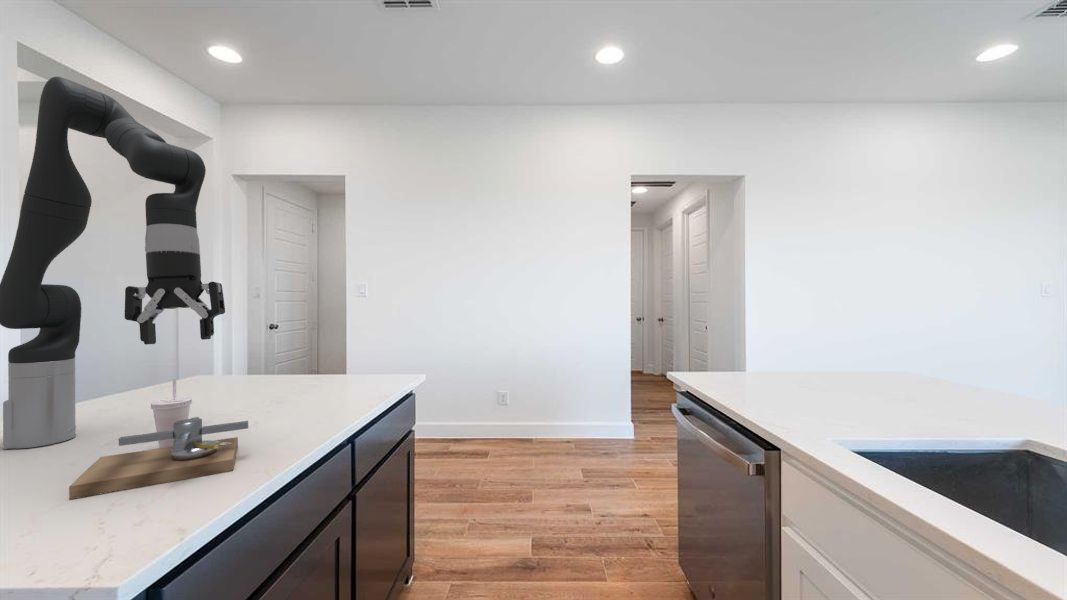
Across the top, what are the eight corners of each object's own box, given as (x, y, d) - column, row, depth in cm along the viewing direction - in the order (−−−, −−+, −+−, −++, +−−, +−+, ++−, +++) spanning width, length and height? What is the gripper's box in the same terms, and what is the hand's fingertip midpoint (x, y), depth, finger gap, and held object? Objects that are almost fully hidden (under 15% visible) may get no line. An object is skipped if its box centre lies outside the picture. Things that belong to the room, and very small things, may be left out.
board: (69, 499, 63) (69, 485, 63) (100, 468, 75) (100, 455, 75) (232, 470, 74) (232, 458, 74) (237, 446, 86) (237, 436, 86)
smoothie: (173, 454, 82) (173, 382, 82) (141, 454, 82) (140, 382, 82) (200, 443, 88) (200, 376, 88) (170, 442, 88) (170, 376, 88)
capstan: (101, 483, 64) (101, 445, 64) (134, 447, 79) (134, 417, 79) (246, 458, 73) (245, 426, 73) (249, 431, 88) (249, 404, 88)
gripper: (227, 254, 82) (232, 337, 81) (139, 257, 78) (144, 345, 78) (209, 247, 75) (214, 338, 74) (111, 250, 71) (115, 346, 70)
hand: (178, 341), depth 76 cm, fingers open, 8 cm apart
